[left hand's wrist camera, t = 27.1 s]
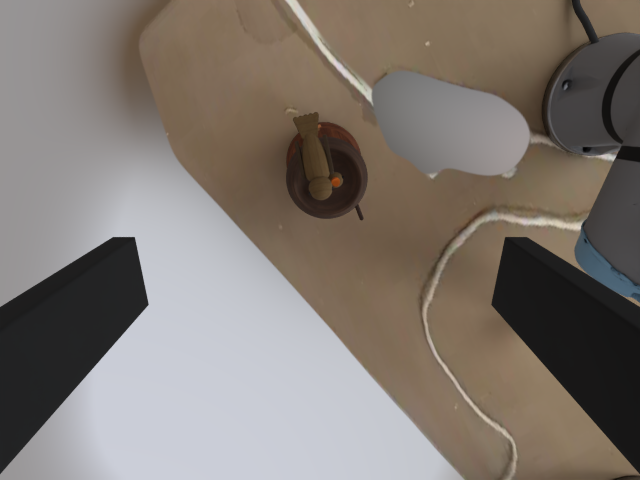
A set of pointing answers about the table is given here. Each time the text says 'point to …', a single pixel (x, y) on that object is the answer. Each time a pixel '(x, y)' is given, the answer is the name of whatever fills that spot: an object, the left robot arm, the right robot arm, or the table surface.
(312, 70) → the table surface
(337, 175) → the music box
